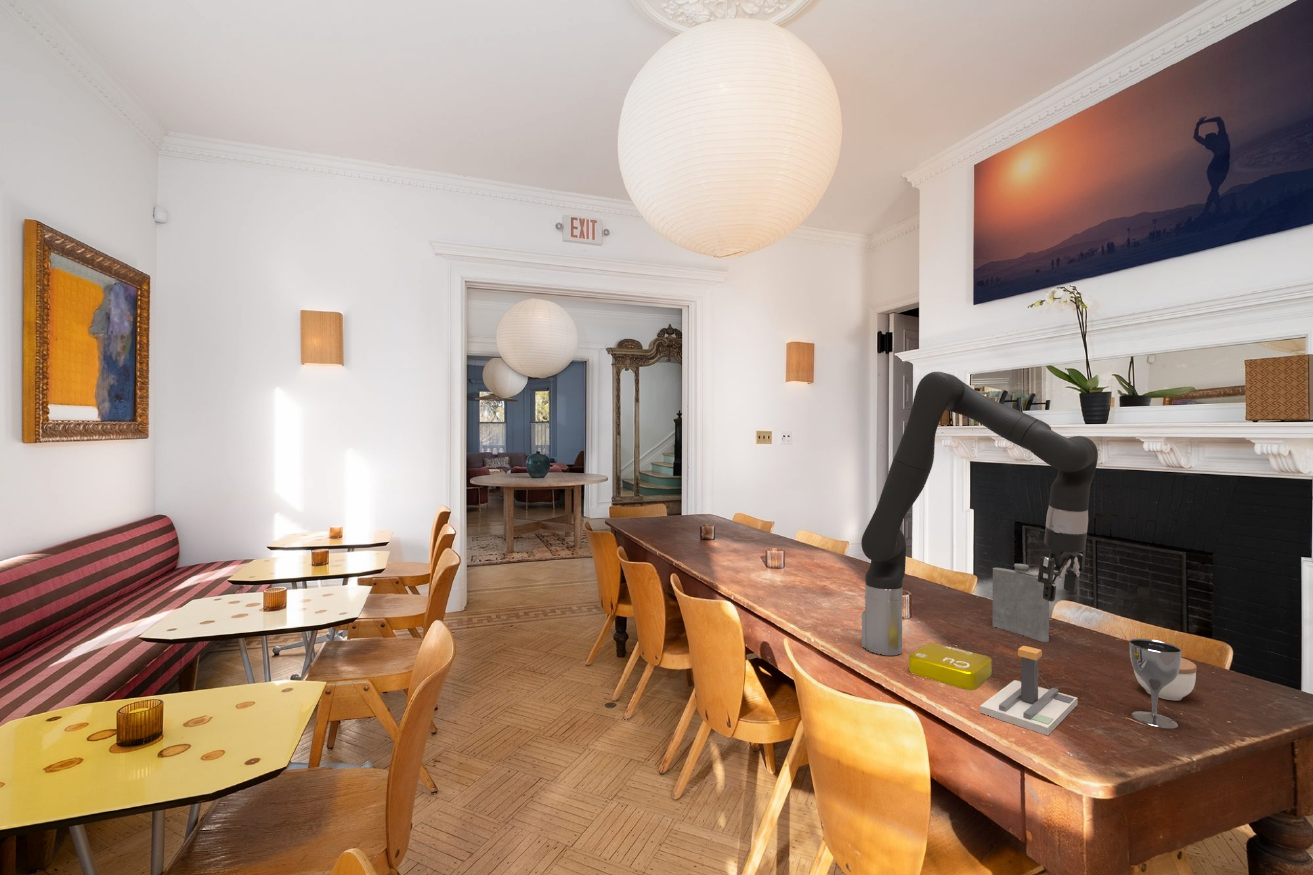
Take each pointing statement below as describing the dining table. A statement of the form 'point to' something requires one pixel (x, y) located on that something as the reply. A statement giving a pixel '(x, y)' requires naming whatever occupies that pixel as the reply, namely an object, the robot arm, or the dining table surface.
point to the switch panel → (1030, 708)
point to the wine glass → (1155, 674)
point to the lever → (1029, 673)
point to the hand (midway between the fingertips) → (1059, 595)
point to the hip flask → (1020, 603)
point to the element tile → (951, 666)
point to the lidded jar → (1176, 682)
